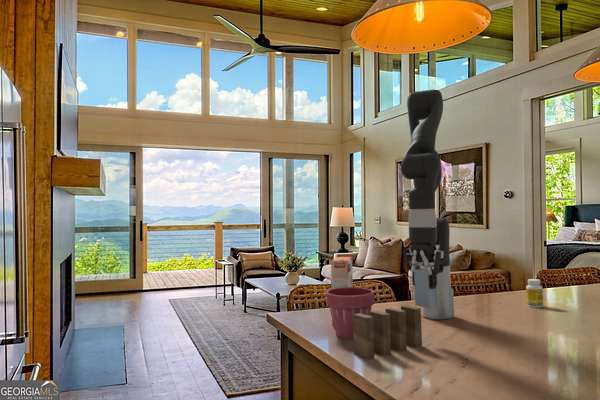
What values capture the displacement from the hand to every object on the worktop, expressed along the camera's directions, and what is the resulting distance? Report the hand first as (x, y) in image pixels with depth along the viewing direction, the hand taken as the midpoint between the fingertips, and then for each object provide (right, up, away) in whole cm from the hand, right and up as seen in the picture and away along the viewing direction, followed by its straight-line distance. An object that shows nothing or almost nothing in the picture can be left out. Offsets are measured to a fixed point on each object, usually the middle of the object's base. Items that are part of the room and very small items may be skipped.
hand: (424, 287), depth 130 cm
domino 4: (-4, -15, -3) cm, 16 cm away
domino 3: (-9, -15, -6) cm, 18 cm away
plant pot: (-19, -16, +9) cm, 26 cm away
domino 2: (-14, -15, -9) cm, 22 cm away
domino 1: (-18, -15, -12) cm, 26 cm away
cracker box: (-20, -16, +25) cm, 36 cm away
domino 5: (0, -5, 0) cm, 5 cm away
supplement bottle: (+51, -15, +41) cm, 67 cm away
